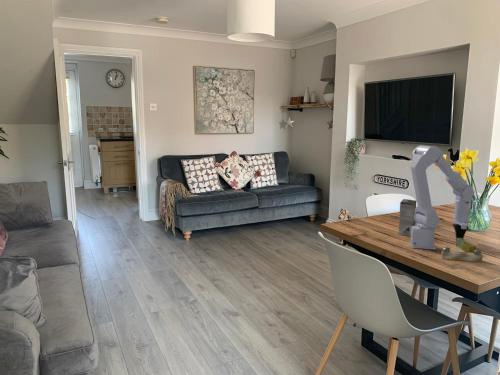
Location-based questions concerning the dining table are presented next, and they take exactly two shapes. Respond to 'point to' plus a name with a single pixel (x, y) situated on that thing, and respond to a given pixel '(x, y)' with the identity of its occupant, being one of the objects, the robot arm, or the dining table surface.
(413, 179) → the robot arm
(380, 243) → the dining table surface
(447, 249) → the bench dogs
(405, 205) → the coffee box
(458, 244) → the medication box
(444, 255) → the bench stop
